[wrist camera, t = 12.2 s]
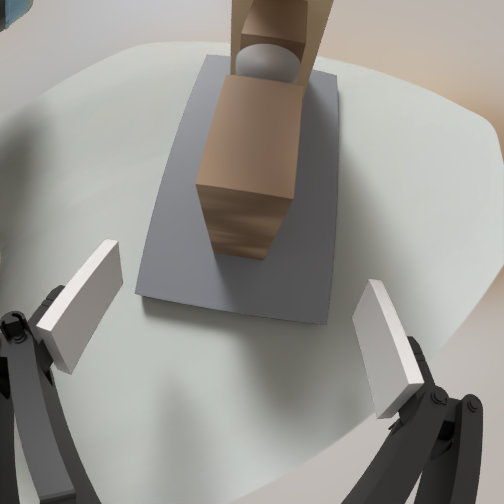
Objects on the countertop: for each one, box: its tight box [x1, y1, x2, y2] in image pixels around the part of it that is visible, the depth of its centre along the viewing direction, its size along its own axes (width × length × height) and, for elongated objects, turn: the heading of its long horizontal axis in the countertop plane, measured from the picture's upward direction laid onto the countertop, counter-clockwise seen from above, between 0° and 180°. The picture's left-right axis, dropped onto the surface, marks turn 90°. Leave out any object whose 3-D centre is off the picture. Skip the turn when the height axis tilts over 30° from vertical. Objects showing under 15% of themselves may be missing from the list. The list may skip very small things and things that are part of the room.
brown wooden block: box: [195, 44, 303, 260], centre depth 17 cm, size 4×9×11 cm, turn 172°
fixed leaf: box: [240, 0, 308, 65], centre depth 18 cm, size 4×10×11 cm, turn 172°
